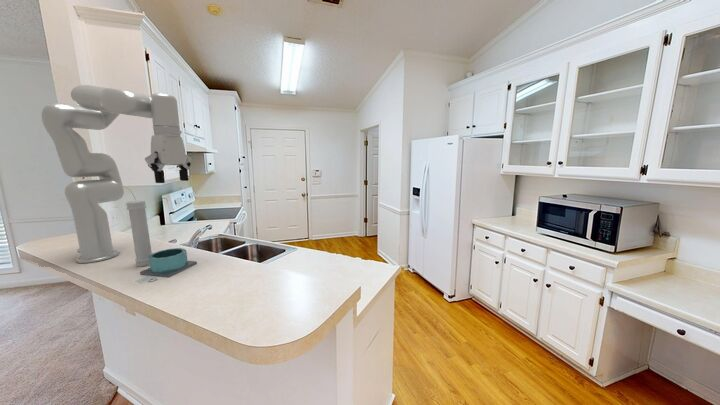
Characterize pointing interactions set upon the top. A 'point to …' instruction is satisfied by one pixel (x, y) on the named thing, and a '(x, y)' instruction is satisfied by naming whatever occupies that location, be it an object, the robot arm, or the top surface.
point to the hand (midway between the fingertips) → (172, 181)
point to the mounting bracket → (147, 279)
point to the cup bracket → (168, 263)
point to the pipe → (139, 231)
